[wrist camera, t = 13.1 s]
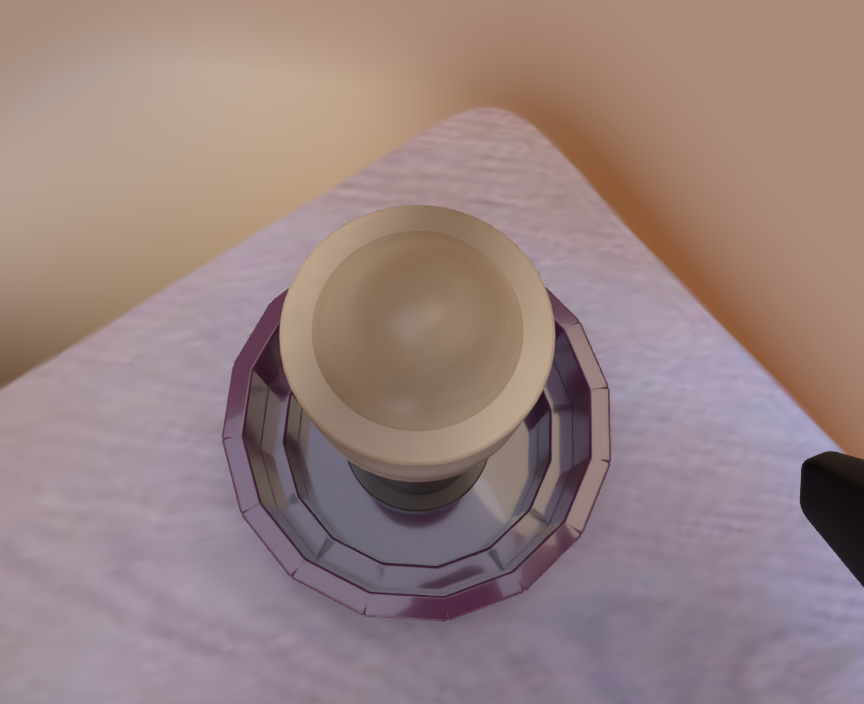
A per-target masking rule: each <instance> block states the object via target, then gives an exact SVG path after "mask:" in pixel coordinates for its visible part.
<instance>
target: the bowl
mask: <svg viewBox="0 0 864 704" xmlns="http://www.w3.org/2000/svg"><path fill="white" fill-rule="evenodd" d="M545 288H546V287H545ZM288 290H289V288H288V289H287V290H286V291H284V292H283V293H282V294H280V295H279V296H278V297H277V298H275V299H274V300H273V301H272V303H270V304H269V306H268V307H267V309H266V311H265V312H264V314H263V316H262V317H261V319H260V321H259V322H258V324H257V326H256V327H255V329H254V330H253V332H252V334H251V335H250V337H249V339H248V340H247V342H246V344H245V345H244V347H243V349H242V350H241V352H240V354H239V355H238V357H237V359H236V360H235V362H234V366H233V368H232V375H231V381H230V388H229V394H228V401H227V407H226V414H225V420H224V427H223V433H222V438H223V440H222V443H223V446H224V450H225V454H226V458H227V462H228V466H229V470H230V474H231V478H232V482H233V486H234V489H235V493H236V497H237V501H238V505H239V509H240V512H241V513H242V517H243V518H244V519H245V520H246V522H247V523H248V524H249V526H250V527H251V528H252V529H253V531H254V532H255V533H256V534H257V536H258V537H259V538H260V540H261V541H262V542H263V543H264V545H265V546H266V547H267V548H268V550H269V551H270V552H271V554H272V555H273V556H274V557H275V559H276V560H277V561H278V562H279V564H280V565H281V566H282V568H283V569H284V570H285V571H286V573H287V574H288V575H289V576H290V577H292V578H293V579H294V580H296V581H298V582H300V583H301V584H303V585H305V586H307V587H309V588H311V589H313V590H315V591H317V592H319V593H321V594H322V595H324V596H326V597H328V598H330V599H332V600H334V601H336V602H338V603H340V604H341V605H343V606H345V607H347V608H349V609H351V610H353V611H355V612H357V613H359V614H361V615H365V616H367V617H384V618H400V619H417V620H434V621H447V620H452V619H455V618H457V617H460V616H463V615H465V614H468V613H471V612H473V611H476V610H478V609H481V608H484V607H486V606H489V605H492V604H494V603H497V602H500V601H502V600H505V599H508V598H510V597H513V596H515V595H518V594H521V593H523V592H524V591H525V590H527V589H528V588H529V587H530V586H531V585H532V584H533V583H534V582H535V581H536V580H537V579H538V578H539V577H541V576H542V575H543V574H544V573H545V572H546V571H547V570H548V569H549V568H550V567H551V566H552V565H553V564H554V563H555V562H556V561H557V560H558V559H559V558H560V557H561V556H562V555H563V554H564V553H565V552H566V551H567V550H568V549H569V548H570V547H571V546H572V545H573V544H574V543H575V542H576V541H577V540H578V539H579V538H580V537H581V534H582V533H583V532H584V530H585V527H586V525H587V522H588V520H589V517H590V515H591V512H592V510H593V507H594V504H595V502H596V499H597V497H598V494H599V492H600V489H601V487H602V484H603V482H604V479H605V477H606V474H607V472H608V469H609V467H610V463H609V462H610V461H611V438H610V396H609V388H608V384H607V381H606V379H605V377H604V375H603V372H602V370H601V368H600V365H599V363H598V361H597V359H596V356H595V354H594V352H593V350H592V347H591V345H590V343H589V340H588V338H587V336H586V334H585V331H584V329H583V327H582V324H581V323H580V322H579V320H578V318H577V317H576V316H575V315H574V314H573V313H571V312H570V311H569V310H568V309H567V308H566V307H565V306H564V305H563V304H562V303H561V302H560V301H559V300H558V299H557V298H556V297H555V296H554V295H553V294H552V293H551V292H550V291H549V290H548V289H547V288H546V290H547V293H548V296H549V299H550V302H551V306H552V311H553V315H554V321H555V336H556V337H555V351H554V357H553V362H552V367H551V371H550V374H549V377H548V379H547V382H546V385H545V387H544V389H543V391H542V393H541V395H540V397H539V399H538V401H537V402H536V404H535V405H534V407H533V408H532V409H531V411H530V412H529V414H528V415H527V416H526V418H525V419H524V420H523V422H522V423H521V424H520V425H519V427H518V428H517V429H516V431H515V432H514V433H513V435H512V436H511V437H510V439H509V440H508V441H507V442H506V443H505V444H504V445H503V446H502V447H501V448H500V449H499V450H498V451H497V452H496V453H495V454H494V455H492V456H491V457H490V458H489V459H488V460H487V463H486V465H485V468H484V470H483V472H482V474H481V476H480V477H479V479H478V480H477V481H476V483H475V484H474V486H473V487H472V488H471V489H470V490H469V491H468V492H467V493H466V494H465V495H464V496H463V497H462V498H460V499H459V500H458V501H456V502H455V503H453V504H451V505H450V506H447V507H445V508H443V509H440V510H436V511H433V512H426V513H408V512H402V511H398V510H395V509H392V508H390V507H387V506H385V505H383V504H382V503H380V502H378V501H377V500H376V499H374V498H373V497H372V496H371V495H369V494H368V492H367V491H366V490H365V489H364V488H363V487H362V486H361V484H360V483H359V482H358V480H357V479H356V478H355V476H354V474H353V472H352V470H351V468H350V466H349V463H348V460H347V459H346V458H345V457H344V456H343V455H341V454H340V453H339V452H338V451H337V450H336V449H335V448H334V447H333V446H332V445H331V444H330V443H329V442H328V441H327V440H326V439H325V437H324V436H323V435H322V433H321V432H320V431H319V430H318V428H317V427H316V426H315V424H314V423H313V422H312V420H311V419H310V418H309V416H308V415H307V414H306V412H305V411H304V410H303V408H302V407H301V405H300V404H299V403H298V401H297V399H296V397H295V395H294V393H293V391H292V390H291V388H290V385H289V383H288V380H287V377H286V374H285V372H284V368H283V363H282V359H281V354H280V340H279V332H280V319H281V314H282V309H283V304H284V301H285V298H286V295H287V292H288Z"/></svg>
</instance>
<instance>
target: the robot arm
mask: <svg viewBox="0 0 864 704" xmlns="http://www.w3.org/2000/svg"><path fill="white" fill-rule="evenodd" d="M800 505H801V508H802V511H803V513H804V515H805V516H806V518H807V519H808V520H809V522H810V523H811V524H812V525H813V526H814V528H815V529H816V530H817V531H818V533H819V534H820V535H821V536H822V537H823V539H824V540H825V541H826V542H827V543H828V545H829V546H830V547H831V548H832V549H833V551H834V552H835V553H836V554H837V556H838V557H839V558H840V559H841V560H842V562H843V563H844V564H845V565H846V566H847V568H848V569H849V570H850V571H851V573H852V574H853V575H854V576H855V577H856V579H857V580H858V581H859V582H860V583H861V585H862V586H863V587H864V460H863V459H860V458H855V457H852V456H849V455H845V454H842V453H838V452H833V451H828V452H824V453H821V454H819V455H816V456H814V457H811V458H809V459H807V460H805V461H804V463H803V464H802V468H801V486H800Z"/></svg>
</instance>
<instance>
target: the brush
mask: <svg viewBox="0 0 864 704" xmlns="http://www.w3.org/2000/svg"><path fill="white" fill-rule="evenodd" d="M555 337H556V336H555V321H554V315H553V311H552V306H551V302H550V299H549V296H548V293H547V290H546V288H545V286H544V284H543V282H542V280H541V278H540V276H539V274H538V272H537V271H536V269H535V268H534V266H533V265H532V263H531V262H530V260H529V259H528V258H527V256H526V255H525V254H524V253H523V252H522V251H521V250H520V249H519V247H518V246H517V245H516V244H514V243H513V242H512V241H511V240H510V239H509V238H508V237H506V236H505V235H504V234H503V233H501V232H500V231H498V230H497V229H495V228H494V227H492V226H491V225H489V224H487V223H485V222H483V221H481V220H479V219H477V218H475V217H473V216H470V215H467V214H465V213H462V212H459V211H455V210H451V209H447V208H442V207H434V206H401V207H392V208H388V209H384V210H379V211H375V212H373V213H370V214H367V215H364V216H362V217H359V218H357V219H355V220H353V221H351V222H349V223H347V224H345V225H344V226H342V227H341V228H339V229H338V230H336V231H335V232H333V233H332V234H331V235H329V236H328V237H327V238H326V239H325V240H324V241H322V242H321V243H320V244H319V245H318V246H317V247H316V248H315V249H314V250H313V252H312V253H311V254H310V255H309V256H308V257H307V258H306V260H305V261H304V263H303V264H302V266H301V267H300V268H299V270H298V271H297V273H296V275H295V277H294V279H293V281H292V283H291V285H290V287H289V290H288V292H287V295H286V298H285V301H284V304H283V309H282V314H281V319H280V332H279V340H280V354H281V359H282V363H283V368H284V372H285V374H286V377H287V380H288V383H289V385H290V388H291V390H292V391H293V393H294V395H295V397H296V399H297V401H298V403H299V404H300V405H301V407H302V408H303V410H304V411H305V412H306V414H307V415H308V416H309V418H310V419H311V420H312V422H313V423H314V424H315V426H316V427H317V428H318V430H319V431H320V432H321V433H322V435H323V436H324V437H325V439H326V440H327V441H328V442H329V443H330V444H331V445H332V446H333V447H334V448H335V449H336V450H337V451H338V452H339V453H340V454H341V455H343V456H344V457H345V458H346V459H347V460H348V463H349V466H350V468H351V470H352V472H353V474H354V476H355V478H356V479H357V480H358V482H359V483H360V484H361V486H362V487H363V488H364V489H365V490H366V491H367V492H368V494H369V495H371V496H372V497H373V498H374V499H376V500H377V501H378V502H380V503H382V504H383V505H385V506H387V507H390V508H392V509H395V510H398V511H402V512H408V513H426V512H433V511H436V510H440V509H443V508H445V507H447V506H450V505H451V504H453V503H455V502H456V501H458V500H459V499H460V498H462V497H463V496H464V495H465V494H466V493H467V492H468V491H469V490H470V489H471V488H472V487H473V486H474V484H475V483H476V481H477V480H478V479H479V477H480V476H481V474H482V472H483V470H484V468H485V465H486V463H487V460H488V459H489V458H490V457H491V456H492V455H494V454H495V453H496V452H497V451H498V450H499V449H500V448H501V447H502V446H503V445H504V444H505V443H506V442H507V441H508V440H509V439H510V437H511V436H512V435H513V433H514V432H515V431H516V429H517V428H518V427H519V425H520V424H521V423H522V422H523V420H524V419H525V418H526V416H527V415H528V414H529V412H530V411H531V409H532V408H533V407H534V405H535V404H536V402H537V401H538V399H539V397H540V395H541V393H542V391H543V389H544V387H545V385H546V382H547V379H548V377H549V374H550V371H551V367H552V362H553V357H554V351H555Z"/></svg>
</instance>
